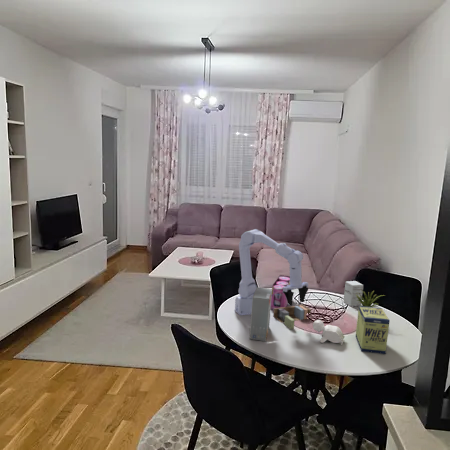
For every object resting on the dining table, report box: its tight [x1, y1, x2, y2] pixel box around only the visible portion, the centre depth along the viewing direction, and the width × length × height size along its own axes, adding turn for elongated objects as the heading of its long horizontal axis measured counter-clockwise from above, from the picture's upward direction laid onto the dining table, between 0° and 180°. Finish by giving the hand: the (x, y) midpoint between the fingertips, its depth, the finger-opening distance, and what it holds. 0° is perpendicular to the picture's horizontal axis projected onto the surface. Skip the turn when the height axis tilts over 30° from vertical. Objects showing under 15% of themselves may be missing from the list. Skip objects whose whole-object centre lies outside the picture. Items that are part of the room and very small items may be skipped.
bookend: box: [278, 308, 289, 323], centre depth 208 cm, size 3×6×4 cm, turn 22°
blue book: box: [294, 305, 304, 321], centre depth 212 cm, size 2×6×5 cm, turn 22°
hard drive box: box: [249, 286, 272, 342], centre depth 190 cm, size 16×8×20 cm, turn 168°
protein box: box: [355, 306, 390, 355], centre depth 184 cm, size 10×16×16 cm
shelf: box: [272, 303, 312, 324], centre depth 211 cm, size 17×8×6 cm, turn 112°
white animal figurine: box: [312, 319, 346, 346], centre depth 188 cm, size 9×8×15 cm
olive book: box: [283, 315, 295, 330], centre depth 200 cm, size 2×6×5 cm, turn 23°
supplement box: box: [342, 280, 364, 307], centre depth 236 cm, size 7×7×13 cm
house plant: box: [356, 289, 386, 308], centre depth 212 cm, size 14×14×16 cm
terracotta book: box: [299, 304, 308, 320], centre depth 212 cm, size 2×6×5 cm, turn 22°
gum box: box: [271, 274, 290, 310], centre depth 229 cm, size 24×8×14 cm, turn 161°
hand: (296, 303), depth 200 cm, fingers open, 7 cm apart
